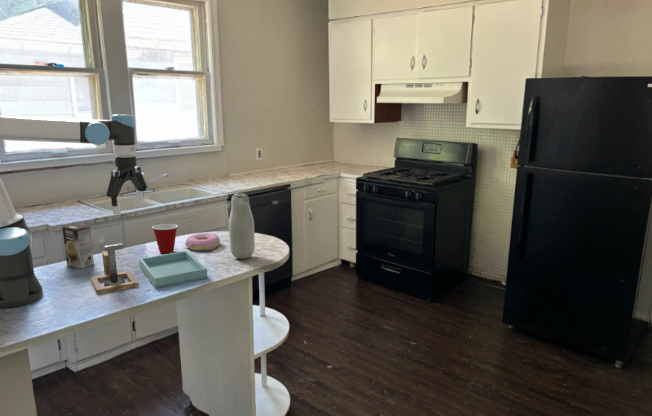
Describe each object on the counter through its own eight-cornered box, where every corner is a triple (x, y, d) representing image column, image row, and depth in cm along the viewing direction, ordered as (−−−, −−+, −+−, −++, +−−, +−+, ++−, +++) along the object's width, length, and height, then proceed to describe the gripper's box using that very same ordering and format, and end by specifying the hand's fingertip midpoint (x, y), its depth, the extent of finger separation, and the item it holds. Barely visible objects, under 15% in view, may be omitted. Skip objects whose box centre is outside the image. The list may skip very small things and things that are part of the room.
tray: (155, 288, 171) (154, 278, 170) (139, 267, 191) (139, 258, 190) (207, 278, 181) (206, 268, 180) (187, 259, 201) (186, 250, 200)
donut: (197, 254, 208) (196, 243, 207) (179, 247, 218) (178, 236, 217) (227, 246, 219) (226, 236, 217) (208, 240, 229) (208, 230, 228)
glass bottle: (258, 255, 207) (256, 191, 201) (248, 262, 197) (246, 196, 191) (236, 253, 209) (234, 190, 203) (226, 260, 200) (223, 195, 193)
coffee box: (65, 265, 194) (61, 226, 190) (80, 260, 199) (76, 222, 195) (80, 268, 189) (76, 229, 186) (95, 264, 195) (90, 225, 191)
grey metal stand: (105, 289, 170) (101, 249, 167) (102, 282, 176) (98, 244, 172) (128, 284, 174) (124, 246, 171) (124, 278, 180) (120, 241, 176)
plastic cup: (183, 248, 215) (181, 222, 213) (173, 256, 205) (171, 229, 202) (160, 247, 216) (158, 221, 214) (149, 255, 206) (147, 228, 203)
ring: (97, 294, 166) (94, 269, 164) (89, 276, 182) (86, 253, 180) (138, 286, 173) (136, 262, 171) (127, 269, 189) (125, 247, 187)
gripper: (110, 160, 168) (114, 218, 173) (154, 153, 192) (157, 205, 196) (92, 158, 170) (97, 216, 175) (138, 152, 194) (141, 203, 198)
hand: (129, 210), depth 186 cm, fingers open, 13 cm apart
